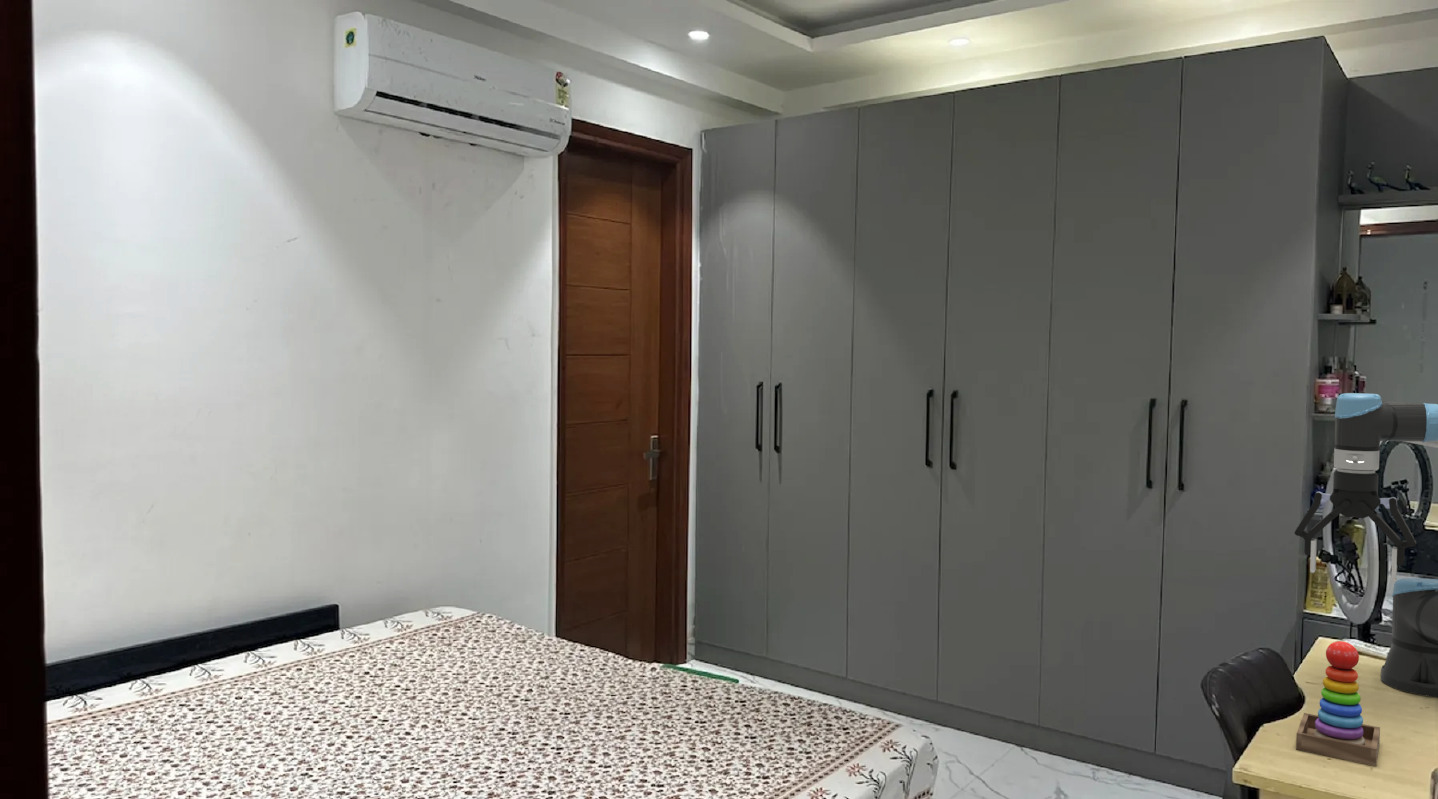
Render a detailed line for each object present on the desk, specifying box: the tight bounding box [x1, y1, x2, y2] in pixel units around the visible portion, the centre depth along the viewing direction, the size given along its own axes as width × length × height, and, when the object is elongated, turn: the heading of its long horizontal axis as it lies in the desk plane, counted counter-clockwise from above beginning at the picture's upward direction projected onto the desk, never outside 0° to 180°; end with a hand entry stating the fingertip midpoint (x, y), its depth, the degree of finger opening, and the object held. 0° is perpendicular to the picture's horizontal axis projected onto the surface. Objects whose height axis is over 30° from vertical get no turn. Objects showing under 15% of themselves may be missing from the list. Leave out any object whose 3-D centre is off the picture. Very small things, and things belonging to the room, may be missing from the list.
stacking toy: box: [1314, 640, 1365, 745], centre depth 176 cm, size 8×8×19 cm
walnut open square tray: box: [1295, 712, 1381, 767], centre depth 177 cm, size 12×12×3 cm
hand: (1352, 576), depth 195 cm, fingers open, 13 cm apart
